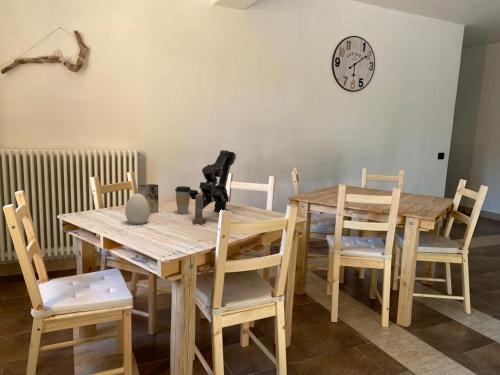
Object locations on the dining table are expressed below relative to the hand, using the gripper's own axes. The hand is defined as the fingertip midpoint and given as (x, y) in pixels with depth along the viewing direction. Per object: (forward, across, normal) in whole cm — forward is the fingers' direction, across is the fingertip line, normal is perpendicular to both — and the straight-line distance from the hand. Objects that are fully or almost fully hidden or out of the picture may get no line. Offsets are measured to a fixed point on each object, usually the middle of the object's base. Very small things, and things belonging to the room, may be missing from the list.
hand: (202, 208), depth 201 cm
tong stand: (+7, 0, +3) cm, 8 cm away
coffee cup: (-6, -19, +17) cm, 26 cm away
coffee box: (0, -36, +11) cm, 38 cm away
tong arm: (+6, 0, +1) cm, 6 cm away
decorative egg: (+16, -29, -6) cm, 34 cm away
